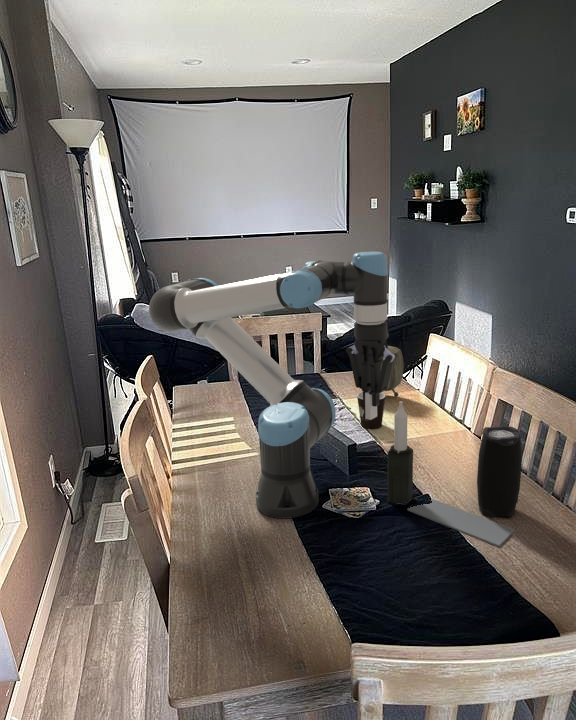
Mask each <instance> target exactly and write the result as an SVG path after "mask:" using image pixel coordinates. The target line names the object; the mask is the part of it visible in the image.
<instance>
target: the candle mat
mask: <svg viewBox="0 0 576 720" xmlns="http://www.w3.org/2000/svg"><path fill="white" fill-rule="evenodd" d="M431 501H432V503H430V504H423V505H422V504H421V505H417V506H413V507H411V506H409V507H410V508H409V507H408V508H407V511H408V512H410V513H413V514H415V515H418V516H420V517H422V518H426V519H428V520H431V521H433V522H435V523H438V524H441V525H443V526H445V527H447V528H451V529H453V530H455V531H458V532H460V533H463V534H465V535H468V536H470V537H472V538H476V539H478V540H481V541H483V542H485V543H488V544H491V545H493V546H496V547H498V548H500V546H501V545H503V544H504V543H505V542H506V541H507V540H508V538H510V537H511V536H512V535H513V534H514V533H515V532H516V529H514V528H512V527H509V526H507V525H504V524H502V523H500V522H499V523H498V522H495V521H494V520H490V519H488V518H484V517H482V516H480V515H477V514H474V513H472V512H469V511H466V510H463V509H461V508H458V507H455V506H453V505H450V504H448V503H444V502H441V501H439V500H436V499H434V498H431Z"/></svg>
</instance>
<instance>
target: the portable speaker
mask: <svg viewBox="0 0 576 720" xmlns="http://www.w3.org/2000/svg"><path fill="white" fill-rule="evenodd" d="M481 435H482V437H481V442H480V447H479V451H478V458H477V459H478V461H477V462H478V463H477V473H476V475H477V476H476V488H477V504H478V509H479V511H480V513H481V514H482V515H483V516H485V517H488V518H490V519H494V518H495V517H500V516H501V517H507V518H508V519H509V518H510V519H511V518H514V515H515V513H516V508H517V504H518V501H519V495H520V489H521V478H522V477H521V476H522V475H521V474H522V465H523V463H522V462H523V458H522V456H523V455H522V439H521V433H520V431H519V429H517V428H516V427H514V426H509V425H505V424H504V425H500V426H499V425H498V426H489V427H487V426H485V427H484V428H483V429H482V431H481Z"/></svg>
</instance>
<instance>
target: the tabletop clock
mask: <svg viewBox="0 0 576 720" xmlns="http://www.w3.org/2000/svg"><path fill="white" fill-rule="evenodd" d="M389 336H390V334H389V331H387V338H386V340H387V339H389ZM387 346H388V350H389V351H390V352H391V353H392V354H393V353H396V354H397V357H396V359H395V360H394V362H393V365H392V369H391V374H390V378H389V383H388V387H387V390H385V391H384V392H390V391H392V393H393V396H394V397H398V396H399V392H396V391H395V388H396V387H398V386H399V385H400V384H401V383H402V381H403V377H404V357H403V353H402V350H401V349H399V347H396V346H391V345H387ZM383 358H384V355H383V357H382V363H381V368H382V364H383V361H384V360H383Z"/></svg>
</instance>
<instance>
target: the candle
mask: <svg viewBox="0 0 576 720" xmlns="http://www.w3.org/2000/svg"><path fill="white" fill-rule="evenodd" d="M398 404H399V405H398V408H397V411H396V412H395V413H394V417H393V418H394V421H393V422H394V424H393V425H394V426H393V427H394V429H393V431H394V434H393V442H394V444H392V445H391V446H390V449H389V450H387V502H388V503H389V502H391V503H390V504H394V503H405V502H408V501H409V500H410V499H411V498H412V499H413V486H414V485H413V484H414V483H413V480H414V449H413V448H412V447H411V446H409V445H408V414H407V412H406V411H405V409H404V402H403V401H402V400H401V401H399V402H398ZM392 502H394V503H392Z"/></svg>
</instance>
